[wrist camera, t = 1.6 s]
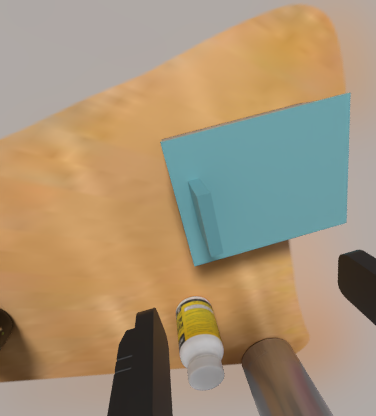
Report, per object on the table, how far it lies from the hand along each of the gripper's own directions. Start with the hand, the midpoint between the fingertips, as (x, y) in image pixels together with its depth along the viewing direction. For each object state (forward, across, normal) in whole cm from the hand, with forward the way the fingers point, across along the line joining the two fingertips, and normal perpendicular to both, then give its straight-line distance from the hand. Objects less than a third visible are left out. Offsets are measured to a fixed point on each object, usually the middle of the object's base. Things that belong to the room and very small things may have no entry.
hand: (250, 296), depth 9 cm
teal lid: (+14, -6, 0) cm, 15 cm away
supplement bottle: (+18, +4, +19) cm, 27 cm away
